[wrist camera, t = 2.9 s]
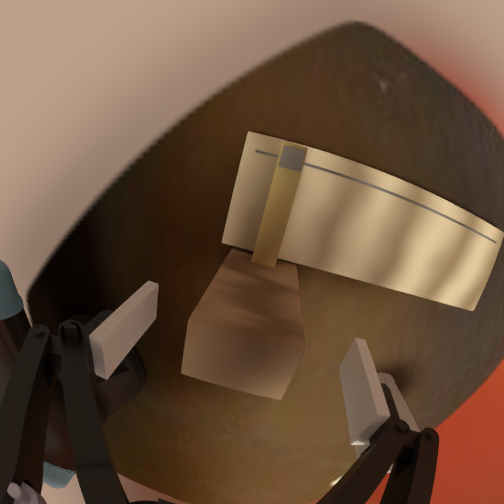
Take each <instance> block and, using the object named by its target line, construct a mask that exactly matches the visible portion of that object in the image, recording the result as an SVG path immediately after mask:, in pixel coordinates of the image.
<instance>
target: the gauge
mask: <svg viewBox="0 0 504 504" xmlns="http://www.w3.org/2000/svg"><path fill="white" fill-rule="evenodd" d="M307 150H308V148H306V147H303V146H299V145H295V144H292V143H288V142H284V141H282V145H281V149H280V153H279V157H278V160H277V164H276V168H275V172H274V176H273V180H272V183H271V187H270V191H269V195H268V199H267V203H266V206H265V210H264V214H263V218H262V222H261V225H260V229H259V233H258V237H257V241H256V244H255V248H254V251H250V250H246V249H243V248H239V247H235V246H233V247H232V249H231V251H230V252H229V254H228V255H227V257H226V259H225V260H224V262H223V264H222V265H221V267H220V268H219V270H218V272H217V273H216V275H215V277H214V278H213V280H212V281H211V283H210V285H209V286H208V288H207V290H206V291H205V293H204V295H203V296H202V298H201V300H200V301H199V303H198V304H197V306H196V308H195V309H194V311H193V313H192V314H191V316H190V318H189V319H188V325H187V332H186V339H185V346H184V353H183V361H182V369H181V374H184V375H187V376H190V377H193V378H196V379H199V380H203V381H206V382H209V383H213V384H216V385H220V386H223V387H227V388H231V389H235V390H238V391H242V392H247V393H251V394H255V395H259V396H264V397H269V398H274V399H279V400H281V399H282V397H283V395H284V393H285V392H286V390H287V388H288V386H289V384H290V382H291V380H292V378H293V376H294V374H295V371H296V369H297V367H298V365H299V363H300V361H301V359H302V357H303V355H304V352H305V342H304V331H303V320H302V310H301V300H300V291H299V282H298V273H297V264H296V263H294V262H291V261H287V260H283V259H280V258H278V254H279V251H280V247H281V244H282V241H283V237H284V234H285V230H286V227H287V223H288V220H289V216H290V213H291V209H292V205H293V202H294V198H295V195H296V191H297V187H298V184H299V180H300V176H301V173H302V169H303V165H304V162H305V158H306V154H307Z"/></svg>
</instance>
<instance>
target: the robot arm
mask: <svg viewBox="0 0 504 504" xmlns="http://www.w3.org/2000/svg"><path fill="white" fill-rule="evenodd" d="M158 288H159V284H157V283H154V282H151V281H148V282H146V283H145V284H144V285H143V286H142V287H141V288H140V289H139V290H137V291H136V292H135V293H134V294H133V295H132V296H131V297H130V298H129V299H127V300H126V301H125V302H124V303H123V304H122V305H121V306H120V307H119V308H118V309H117V310H115V311H111V310H109V309H107V310H104V311H102V312H100V313H99V314H98V315H96V316H95V317H93V316H90V315H86V314H78V315H74V316H72V317H71V318H70V319H68V320H66V321H64V322H62V323H61V324H60V325H59V327H58V330H59V331H58V333H57V335H56V336H55V335H52V334H50V330H49V328H48V327H47V326H45V325H34V326H33V327H31V325H30V323H29V320H28V318H27V315H26V313H25V310H24V308H23V307H24V306H23V300H22V298H21V296H20V295H19V294H18V292H17V289H16V286H15V284H14V281H13V278H12V275H11V272H10V270H9V268H8V267H7V265H6V264H5V263H4V262H3V261H1V260H0V504H47V503H46V502H45V500H44V498H43V497H42V496H41V490H42V483H43V482H44V483H46V484H48V485H49V486H51V487H54V488H64V487H65V486H66V485H67V484H68V482H69V481H70V480H71V478H72V477H73V475H74V474H77V478H78V482H79V485H80V488H81V491H82V494H83V497H84V500H85V503H86V504H174V503H171V502H168V501H165V500H163V499H160V498H159V500H158V502H156V501H135V502H131V503H130V502H129V500H128V498H127V496H126V494H125V491H124V490H123V487H122V485H121V482H120V480H119V477H118V475H117V472H116V469H115V466H114V464H113V461H112V458H111V455H110V452H109V449H108V445H107V442H106V439H105V435H104V432H103V426H104V424H105V423H106V421H107V420H108V418H109V417H110V416H111V415H112V414H113V413H115V412H116V411H118V410H119V409H120V408H122V407H123V406H125V405H126V404H128V403H129V402H130V401H132V400H133V399H134V398H135V397H136V396H137V395H138V394H139V392H140V390H141V389H142V387H143V385H144V383H145V371H144V368H143V365H142V362H141V360H140V358H139V356H138V355H137V353H136V352H135V350H134V349H133V346H134V345H135V344H136V342H137V341H138V340H139V339H140V338H141V336H142V335H143V334H144V333H145V331H146V330H147V329H148V328H149V326H150V325H151V324H152V323H153V321H154V320H155V319H156V311H157V299H158ZM339 373H340V379H341V384H342V390H343V396H344V402H345V408H346V414H347V421H348V427H349V434H350V442H351V445H364V444H365V443H366V442H367V441H368V440H369V443H370V445H369V446H368V447H367V448H366V449H365V450H364V451H363V452H362V453H361V454H360V455H361V456H360V457H359V458H358V459H357V461H356V462H355V463H354V464H353V465H352V466H351V468H350V469H349V470H348V471H347V472H346V473H345V475H344V476H343V477H342V478H341V479H340V480H339V481H338V482H337V483H336V484H335V485H334V486H333V487H332V489H331V490H330V491H329V492H328V493H327V494H326V495H325V496H324V497H323V498H322V499H321V500H320V501H319V502H317V504H365V503H366V502H367V500H368V499H369V498H370V496H371V495H372V494H373V492H374V491H375V489H376V488H377V487H378V485H379V484H380V482H381V481H382V479H383V478H384V476H385V475H386V473H387V472H388V470H389V469H390V467H391V466H392V464H393V466H392V469H391V473H390V476H389V479H388V482H387V485H386V488H385V491H384V494H383V496H382V499H381V502H380V504H430V499H431V494H432V489H433V484H434V478H435V472H436V465H437V456H438V446H439V435H438V434H437V432H436V431H435V430H434V429H432V428H425V429H423V430H422V431H421V432H417V431H413V430H410V426H409V425H408V423H406V422H405V421H404V420H401V419H400V417H399V414H398V411H397V408H396V405H395V402H394V399H393V397H392V393H391V390H390V389H389V387H388V386H387V385H386V384H385V383H380V381H379V378H378V375H377V372H376V369H375V366H374V363H373V360H372V357H371V355H370V352H369V349H368V346H367V344H366V341H365V340H364V339H359V338H355V339H354V341H353V343H352V345H351V347H350V348H349V350H348V352H347V354H346V356H345V358H344V359H343V361H342V363H341V365H340V366H339Z"/></svg>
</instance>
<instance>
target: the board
mask: <svg viewBox="0 0 504 504" xmlns="http://www.w3.org/2000/svg"><path fill="white" fill-rule="evenodd" d="M282 141H284V142H288V143H292V144H295V145H299V146H303V147H306V148H308V150H307V154H306V158H305V162H304V165H303V169H302V173H301V176H300V180H299V184H298V187H297V191H296V195H295V198H294V202H293V205H292V209H291V213H290V216H289V220H288V223H287V227H286V230H285V234H284V237H283V241H282V244H281V247H280V251H279V254H278V258H280V259H283V260H287V261H291V262H294V263H298V264H302V265H305V266H309V267H313V268H316V269H320V270H324V271H327V272H331V273H335V274H338V275H342V276H346V277H349V278H353V279H357V280H360V281H364V282H368V283H371V284H375V285H379V286H382V287H386V288H390V289H393V290H397V291H401V292H404V293H408V294H412V295H415V296H419V297H423V298H426V299H430V300H434V301H437V302H441V303H445V304H448V305H452V306H456V307H459V308H463V309H467V310H470V311H474V309H475V307H476V304H477V302H478V300H479V298H480V296H481V294H482V292H483V289H484V287H485V285H486V283H487V280H488V278H489V275H490V273H491V270H492V268H493V265H494V263H495V260H496V257H497V254H498V251H499V249H500V246H501V243H502V239H503V236H504V233H503V232H502V231H500V230H499V229H497V228H495V227H494V226H492V225H490V224H489V223H487V222H485V221H484V220H482V219H480V218H478V217H477V216H475V215H473V214H471V213H469V212H468V211H466V210H464V209H462V208H460V207H458V206H456V205H454V204H453V203H451V202H449V201H447V200H445V199H443V198H441V197H439V196H436V195H434V194H432V193H430V192H428V191H426V190H424V189H422V188H419V187H417V186H415V185H413V184H410V183H408V182H406V181H403V180H401V179H399V178H396V177H394V176H391V175H389V174H386V173H384V172H381V171H379V170H376V169H374V168H371V167H368V166H366V165H363V164H360V163H357V162H355V161H352V160H349V159H346V158H343V157H340V156H337V155H334V154H331V153H328V152H324V151H321V150H318V149H315V148H311V147H308V146H304V145H301V144H297V143H294V142H290V141H286V140H282V139H278V138H274V137H270V136H266V135H262V134H258V133H253V132H249V131H248V134H247V138H246V142H245V146H244V150H243V154H242V158H241V162H240V166H239V170H238V174H237V178H236V182H235V186H234V191H233V195H232V199H231V203H230V208H229V212H228V216H227V221H226V225H225V230H224V234H223V239H222V243H224V244H228V245H232V246H235V247H239V248H243V249H246V250H250V251H254V248H255V244H256V241H257V237H258V233H259V229H260V225H261V222H262V218H263V214H264V210H265V206H266V203H267V199H268V195H269V191H270V187H271V183H272V180H273V176H274V172H275V168H276V164H277V160H278V157H279V153H280V149H281V145H282Z"/></svg>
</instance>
